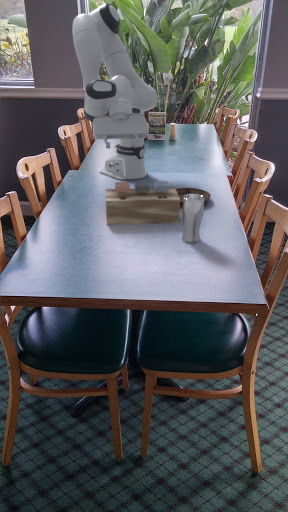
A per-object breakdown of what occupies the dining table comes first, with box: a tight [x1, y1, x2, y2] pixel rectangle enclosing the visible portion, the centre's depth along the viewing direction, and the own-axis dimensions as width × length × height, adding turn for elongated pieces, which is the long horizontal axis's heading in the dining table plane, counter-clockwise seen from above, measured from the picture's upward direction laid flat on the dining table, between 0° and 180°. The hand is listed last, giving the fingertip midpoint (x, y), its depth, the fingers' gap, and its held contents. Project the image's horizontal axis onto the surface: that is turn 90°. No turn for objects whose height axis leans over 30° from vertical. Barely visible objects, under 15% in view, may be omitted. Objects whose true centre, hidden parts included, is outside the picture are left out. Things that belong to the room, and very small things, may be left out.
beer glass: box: [181, 194, 205, 244], centre depth 150 cm, size 7×7×15 cm
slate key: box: [152, 180, 170, 191], centre depth 166 cm, size 5×5×2 cm
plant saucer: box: [175, 187, 212, 207], centre depth 184 cm, size 18×18×3 cm
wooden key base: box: [105, 187, 181, 226], centre depth 167 cm, size 12×26×9 cm, turn 95°
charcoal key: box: [133, 181, 150, 192], centre depth 165 cm, size 5×5×2 cm
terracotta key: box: [114, 181, 131, 192], centre depth 164 cm, size 5×5×2 cm
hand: (120, 147), depth 168 cm, fingers open, 8 cm apart
